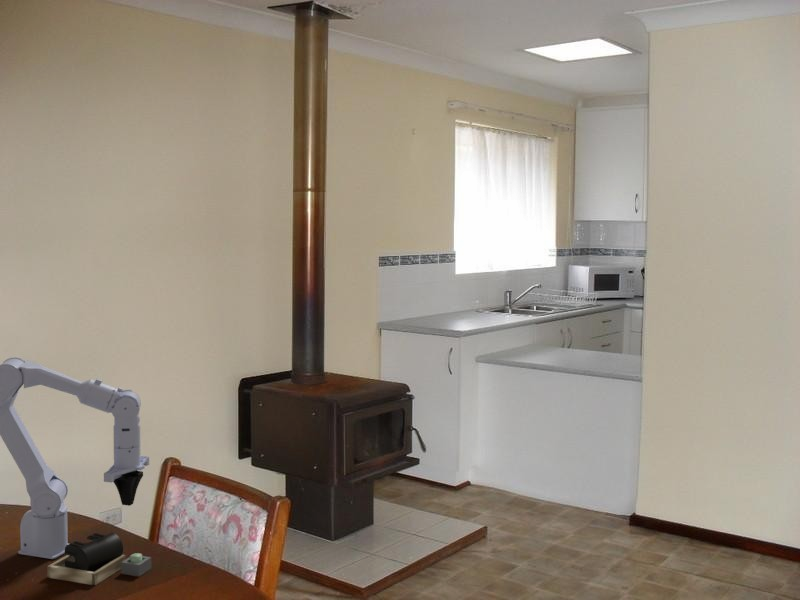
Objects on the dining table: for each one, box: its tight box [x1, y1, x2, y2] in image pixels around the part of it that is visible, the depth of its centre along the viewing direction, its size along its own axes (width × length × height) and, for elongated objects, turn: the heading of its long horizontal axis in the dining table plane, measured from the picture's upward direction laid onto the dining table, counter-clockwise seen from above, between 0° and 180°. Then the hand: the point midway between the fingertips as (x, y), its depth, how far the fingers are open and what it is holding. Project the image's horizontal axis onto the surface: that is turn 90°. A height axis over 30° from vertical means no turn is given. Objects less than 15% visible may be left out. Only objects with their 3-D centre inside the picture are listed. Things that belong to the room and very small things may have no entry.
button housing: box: [120, 555, 152, 578], centre depth 182 cm, size 4×4×2 cm
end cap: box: [64, 532, 124, 572], centre depth 181 cm, size 10×7×7 cm
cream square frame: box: [46, 554, 127, 586], centre depth 181 cm, size 12×10×2 cm
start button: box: [129, 552, 143, 563], centre depth 182 cm, size 2×2×3 cm
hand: (127, 504), depth 194 cm, fingers closed
